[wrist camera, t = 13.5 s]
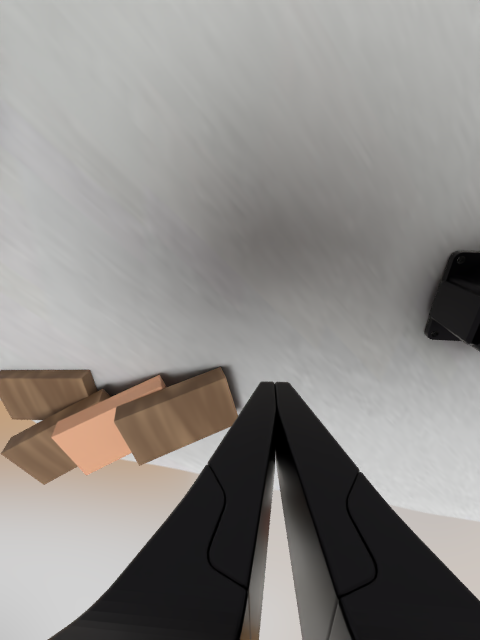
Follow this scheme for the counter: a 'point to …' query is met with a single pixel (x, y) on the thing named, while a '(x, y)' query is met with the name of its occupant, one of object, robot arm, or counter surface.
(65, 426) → the domino
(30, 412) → the domino
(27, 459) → the domino
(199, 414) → the domino
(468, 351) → the counter surface
